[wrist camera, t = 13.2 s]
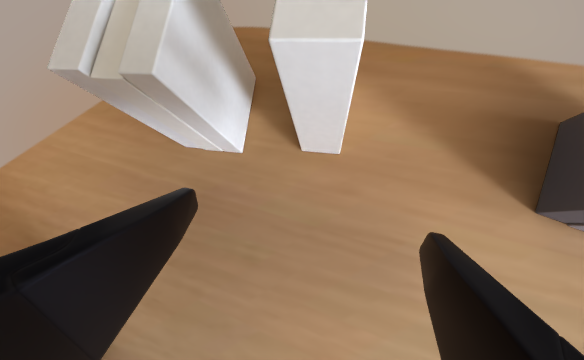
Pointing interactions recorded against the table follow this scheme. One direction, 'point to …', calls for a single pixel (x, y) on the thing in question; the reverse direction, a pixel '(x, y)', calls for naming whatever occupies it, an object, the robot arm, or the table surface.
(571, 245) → the table surface
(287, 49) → the white tall block
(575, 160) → the grey books
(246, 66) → the white books
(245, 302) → the table surface
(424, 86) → the table surface
